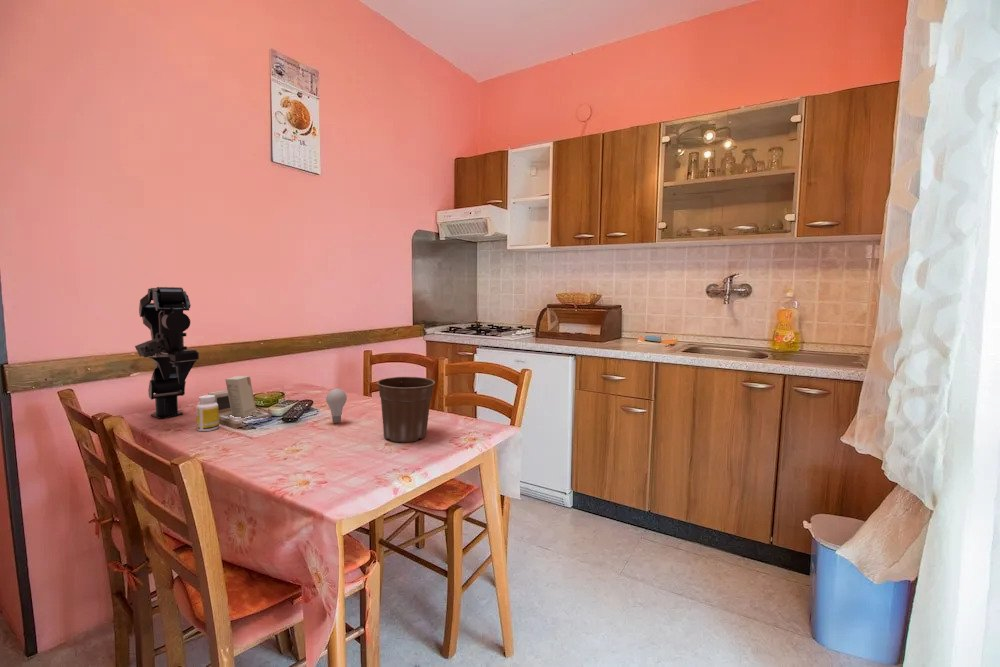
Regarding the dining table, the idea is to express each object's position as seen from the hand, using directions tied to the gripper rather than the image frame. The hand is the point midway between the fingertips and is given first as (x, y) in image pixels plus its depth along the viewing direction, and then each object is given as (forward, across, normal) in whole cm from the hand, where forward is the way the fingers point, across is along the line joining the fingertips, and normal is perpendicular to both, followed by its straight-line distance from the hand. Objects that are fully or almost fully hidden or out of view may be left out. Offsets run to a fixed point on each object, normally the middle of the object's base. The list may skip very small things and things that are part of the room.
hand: (173, 381), depth 133 cm
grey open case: (+13, +8, +13) cm, 20 cm away
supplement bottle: (+13, +12, +3) cm, 18 cm away
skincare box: (+11, +14, +13) cm, 22 cm away
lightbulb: (+13, +38, +28) cm, 49 cm away
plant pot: (+13, +64, +31) cm, 72 cm away
